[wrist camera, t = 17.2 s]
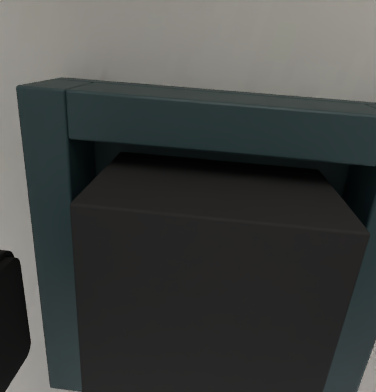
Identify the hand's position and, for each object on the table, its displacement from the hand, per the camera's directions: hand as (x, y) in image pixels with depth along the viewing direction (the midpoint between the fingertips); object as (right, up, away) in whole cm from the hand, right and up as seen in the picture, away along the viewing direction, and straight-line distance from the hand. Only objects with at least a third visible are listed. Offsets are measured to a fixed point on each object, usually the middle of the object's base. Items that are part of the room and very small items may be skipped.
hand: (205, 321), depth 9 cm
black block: (0, +1, +3) cm, 4 cm away
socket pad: (0, +2, +4) cm, 4 cm away
